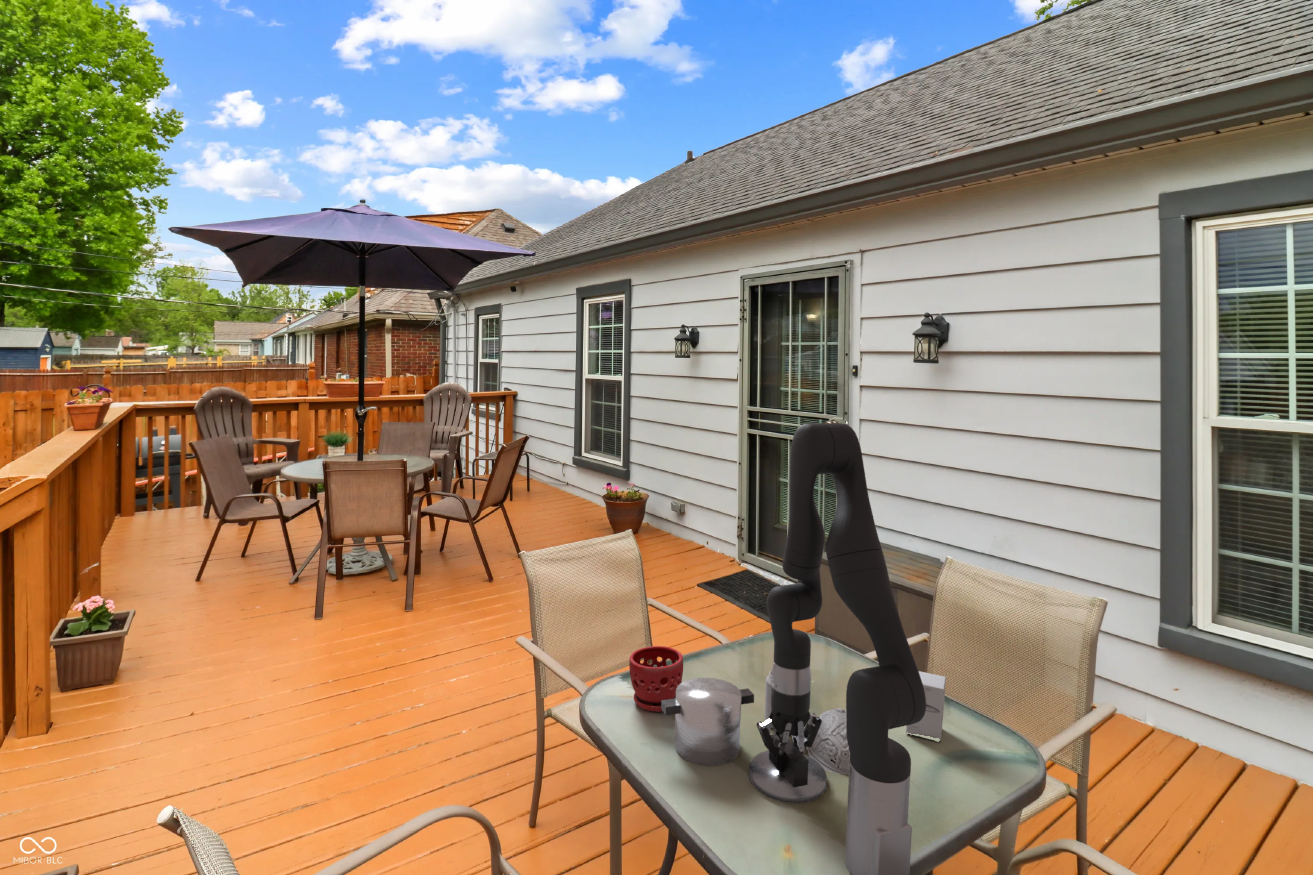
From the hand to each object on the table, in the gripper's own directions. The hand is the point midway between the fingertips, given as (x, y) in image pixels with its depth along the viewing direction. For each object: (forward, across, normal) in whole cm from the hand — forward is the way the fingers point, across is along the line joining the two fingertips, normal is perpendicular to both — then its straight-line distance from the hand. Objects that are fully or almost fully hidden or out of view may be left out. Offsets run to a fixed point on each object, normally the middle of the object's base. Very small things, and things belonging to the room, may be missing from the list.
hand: (787, 767), depth 127 cm
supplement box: (+3, +39, +7) cm, 40 cm away
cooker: (+2, -11, +15) cm, 19 cm away
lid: (+2, 0, 0) cm, 2 cm away
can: (+2, +9, +19) cm, 21 cm away
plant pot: (+2, -16, +36) cm, 40 cm away
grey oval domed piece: (+3, +18, +8) cm, 20 cm away
